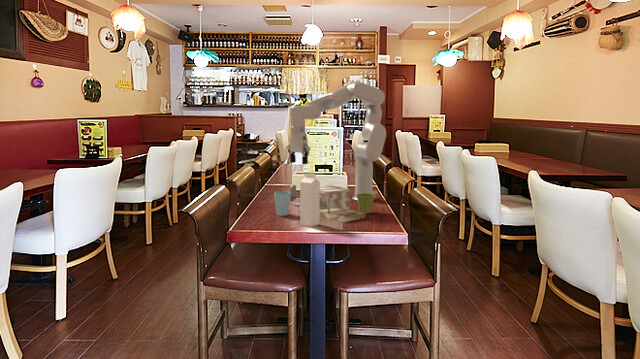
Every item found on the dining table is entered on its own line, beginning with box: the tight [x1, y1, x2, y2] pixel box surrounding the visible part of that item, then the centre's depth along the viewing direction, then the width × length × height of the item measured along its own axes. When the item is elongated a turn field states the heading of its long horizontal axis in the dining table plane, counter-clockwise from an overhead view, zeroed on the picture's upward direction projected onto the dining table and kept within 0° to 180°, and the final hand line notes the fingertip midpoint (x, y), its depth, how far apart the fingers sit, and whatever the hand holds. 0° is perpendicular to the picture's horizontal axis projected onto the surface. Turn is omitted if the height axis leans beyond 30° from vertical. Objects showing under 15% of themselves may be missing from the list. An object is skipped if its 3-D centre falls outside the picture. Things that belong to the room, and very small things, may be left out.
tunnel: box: [297, 185, 366, 223], centre depth 221 cm, size 32×14×12 cm, turn 43°
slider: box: [289, 184, 328, 207], centre depth 235 cm, size 22×9×8 cm, turn 43°
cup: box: [273, 191, 291, 217], centre depth 219 cm, size 8×8×10 cm
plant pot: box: [356, 193, 377, 215], centre depth 225 cm, size 9×9×9 cm
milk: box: [299, 173, 321, 228], centre depth 200 cm, size 6×6×22 cm
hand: (298, 163), depth 240 cm, fingers open, 9 cm apart
